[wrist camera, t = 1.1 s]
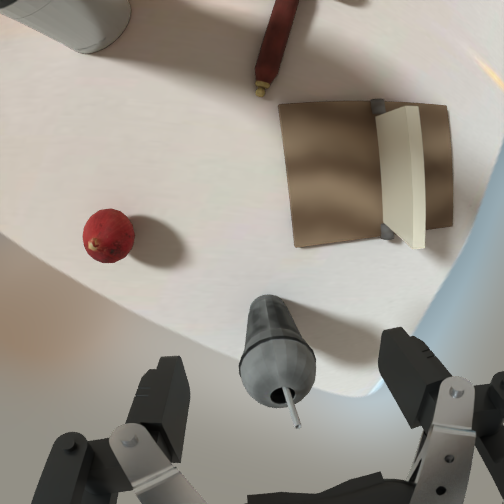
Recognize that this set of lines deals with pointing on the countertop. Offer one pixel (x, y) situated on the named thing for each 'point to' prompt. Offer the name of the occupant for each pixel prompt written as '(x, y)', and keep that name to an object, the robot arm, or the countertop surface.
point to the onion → (108, 236)
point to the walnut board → (355, 169)
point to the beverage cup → (276, 357)
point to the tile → (403, 174)
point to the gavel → (274, 43)
